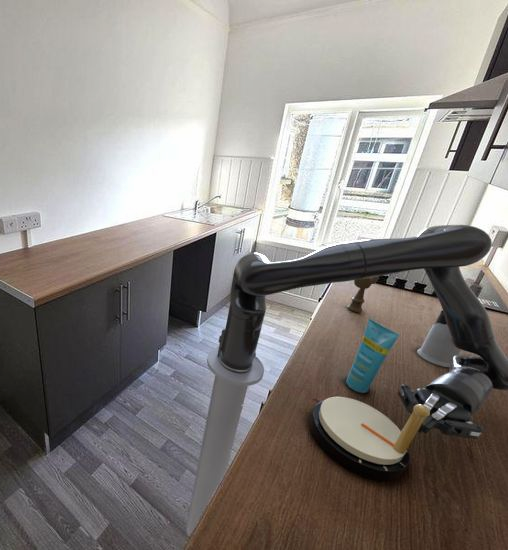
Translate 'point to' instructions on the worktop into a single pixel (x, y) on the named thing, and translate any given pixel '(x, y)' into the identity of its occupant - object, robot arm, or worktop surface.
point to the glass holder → (438, 344)
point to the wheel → (369, 429)
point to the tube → (370, 355)
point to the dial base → (351, 460)
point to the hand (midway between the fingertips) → (417, 426)
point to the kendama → (361, 293)
